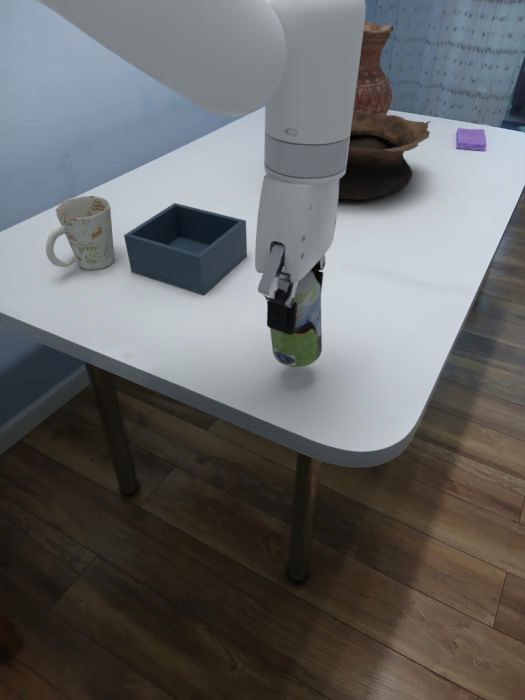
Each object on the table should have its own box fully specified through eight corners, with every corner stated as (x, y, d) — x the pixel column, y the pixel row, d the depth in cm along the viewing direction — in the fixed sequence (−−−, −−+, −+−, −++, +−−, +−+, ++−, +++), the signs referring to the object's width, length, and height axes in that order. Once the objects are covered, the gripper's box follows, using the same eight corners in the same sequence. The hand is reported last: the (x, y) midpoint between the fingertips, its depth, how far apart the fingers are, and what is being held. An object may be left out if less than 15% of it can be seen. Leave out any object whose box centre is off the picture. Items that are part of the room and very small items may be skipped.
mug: (131, 257, 86) (120, 203, 80) (75, 291, 78) (58, 234, 72) (97, 244, 90) (84, 191, 83) (41, 276, 82) (21, 220, 75)
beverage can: (330, 357, 61) (343, 273, 54) (290, 384, 57) (298, 298, 50) (293, 334, 65) (300, 252, 57) (252, 358, 61) (255, 274, 53)
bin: (131, 272, 83) (123, 235, 78) (179, 237, 92) (174, 202, 87) (204, 295, 77) (200, 257, 73) (247, 256, 86) (246, 220, 82)
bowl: (308, 151, 130) (317, 88, 121) (431, 183, 118) (451, 116, 109) (237, 185, 106) (241, 109, 97) (383, 229, 94) (404, 148, 85)
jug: (394, 122, 144) (411, 20, 127) (376, 145, 129) (392, 32, 113) (322, 113, 151) (329, 15, 134) (297, 134, 136) (301, 27, 120)
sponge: (456, 149, 127) (458, 141, 126) (456, 133, 136) (457, 126, 135) (485, 151, 125) (487, 144, 124) (482, 136, 135) (484, 128, 133)
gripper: (307, 121, 52) (297, 270, 63) (219, 176, 40) (226, 345, 52) (376, 133, 49) (352, 286, 61) (303, 195, 37) (290, 369, 49)
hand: (294, 312), depth 56 cm, fingers closed on beverage can, 6 cm apart
